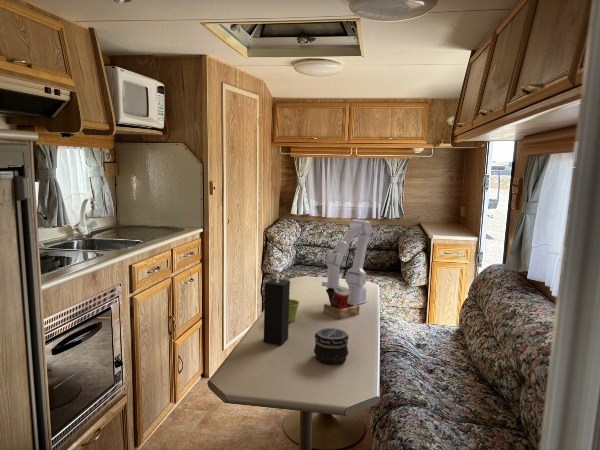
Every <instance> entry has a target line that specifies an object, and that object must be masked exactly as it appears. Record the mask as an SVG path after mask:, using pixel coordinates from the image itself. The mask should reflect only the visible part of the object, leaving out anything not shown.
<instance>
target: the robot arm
mask: <svg viewBox="0 0 600 450" xmlns="http://www.w3.org/2000/svg"><path fill="white" fill-rule="evenodd" d="M371 232H372V223H371V222H370V221H369V220H363V219H357V218H353V219H351V221H350V222H349V224H348V230H347V232H346V234H345V236H344V237H343V239H342V240H340V241H338V242H337V243H336V245H335V246H334V248H333V249H332V250H331V252H330V251H329V252H328V253H327V254H326V256H325V261H326V266H327V281H322V282H321V287H325V288H326V289H325V291H326V293H327V296H328V299H329V300H328V301H329V303H330V304H331V301H332V297H333V293H334V289H335V288H336V287H338V288H336V289H338V290H340V291H341V292H343V291H345V288H346V287H345V288H343V287H344V286H341V285H339V284H340V267H341V266H340V265H341V264H342V263H343V259H344V255H345V254H346V252H347V251H348V249H349V244H350V243H351V241H352V240H353V239H354V238H355V236H357V238H358V239H357V242H356V248H355V254H354V258H353V263H352V266H351V268H348V269H347V273H346V274H345V278H344V279H345V283H346V284H347V286H348V288H347V289H348V290H349V291H350V294H349V298H348V301H347V302H349V303H352V304H355V305H361V304H365V303H367V302H368V301H367V289H366V286H365V285H366V282H367V277H366V276H367V272H365V270H364V269H363V268H364V263H365V258H366V253H367V247H368V243H369V237H371Z"/></svg>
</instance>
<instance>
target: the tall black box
mask: <svg viewBox="0 0 600 450" xmlns="http://www.w3.org/2000/svg"><path fill="white" fill-rule="evenodd" d="M280 276H281V275H280V273H276V274H275V278H270V279H269V280H267V281H266V282H264V304H263V305H264V307H263V310H264V311H263V312H264V313H263V314H264V315H263V343H265V344H269V345H276V346H282V345H284V343H285V342H286V341H287V340H288V339H289V323H290V322H289V299H290V293H291V292H290V290H291V288H290V287H291V280H287V279H280Z"/></svg>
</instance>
